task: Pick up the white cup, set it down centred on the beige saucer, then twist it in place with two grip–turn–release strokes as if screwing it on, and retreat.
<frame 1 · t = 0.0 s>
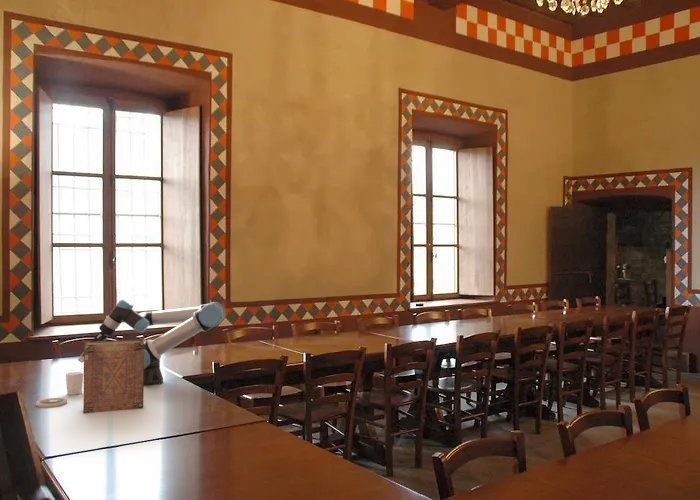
hand: (84, 359, 326), 15 cm above the table, tool tilted 35°, fingers open, 13 cm apart
white cup: (74, 393, 315), on the table
beige saucer: (51, 404, 293), on the table
book: (113, 408, 285), on the table
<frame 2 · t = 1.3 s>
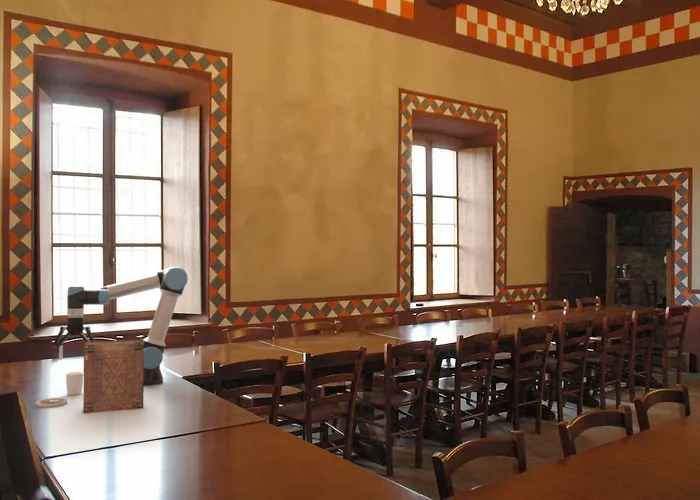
hand: (74, 359, 315), 17 cm above the table, tool pointing down, fingers open, 13 cm apart
nothing on the table moved.
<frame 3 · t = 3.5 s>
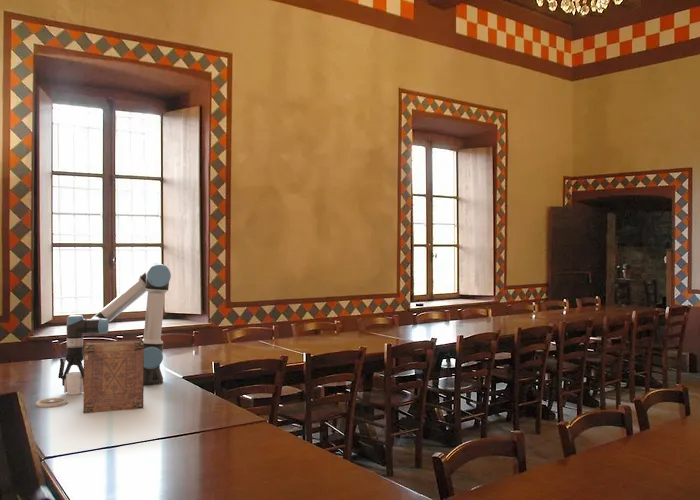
hand: (74, 392, 315), 1 cm above the table, tool pointing down, fingers closed on white cup, 8 cm apart
white cup: (74, 393, 315), on the table, touching gripper
everything else where it was.
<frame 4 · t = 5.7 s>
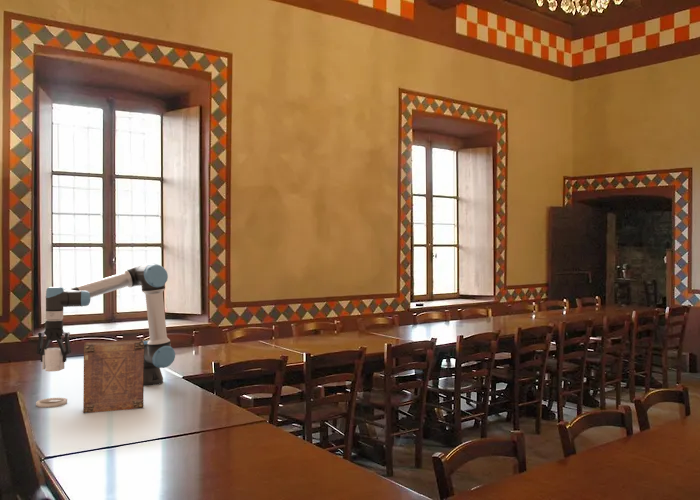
hand: (53, 368, 295), 16 cm above the table, tool pointing down, fingers closed on white cup, 7 cm apart
white cup: (53, 370, 295), point 15 cm above the table, touching gripper
everything else where it was.
when the fingers open (4 cm above the table, at t = 8.4 s): white cup drops 2 cm, resting on beige saucer.
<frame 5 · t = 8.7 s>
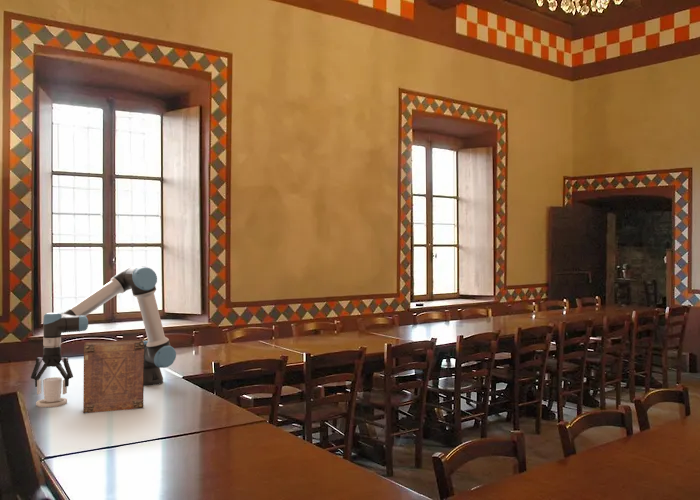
hand: (51, 393, 293), 5 cm above the table, tool pointing down, fingers open, 11 cm apart
white cup: (52, 400, 293), point 1 cm above the table, touching beige saucer
everything else where it was.
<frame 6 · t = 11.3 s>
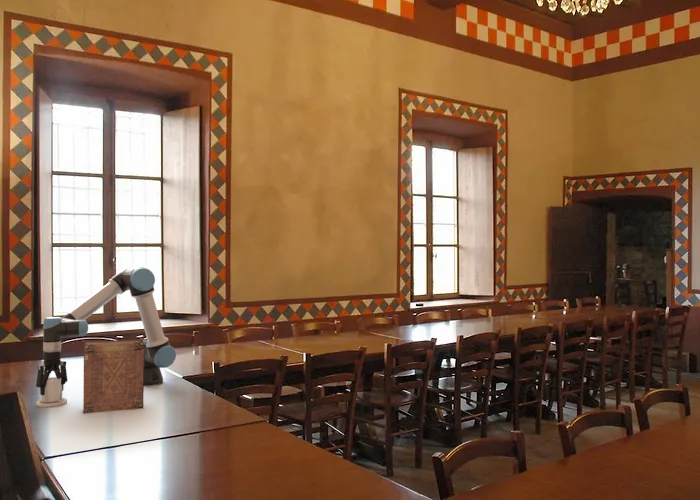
hand: (51, 399, 293), 2 cm above the table, tool pointing down, fingers closed on white cup, 7 cm apart
white cup: (51, 400, 293), point 1 cm above the table, touching gripper
everything else where it was.
when the fingers open (2 cm above the table, at t = 14.1 s): white cup stays where it is, resting on beige saucer.
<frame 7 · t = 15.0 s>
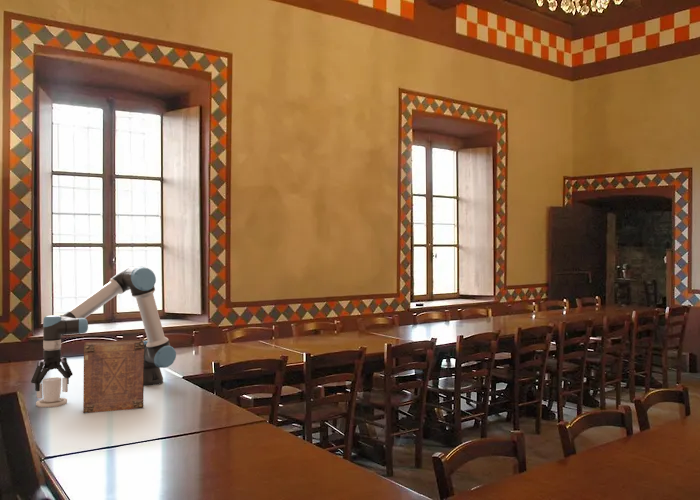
hand: (52, 394, 293), 4 cm above the table, tool pointing down, fingers open, 13 cm apart
white cup: (51, 401, 293), point 1 cm above the table, touching beige saucer
everything else where it was.
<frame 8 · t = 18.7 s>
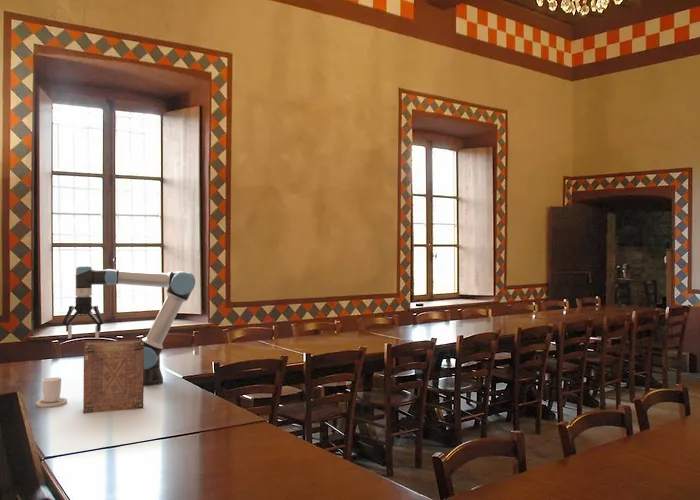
hand: (83, 338, 321), 27 cm above the table, tool pointing down, fingers open, 13 cm apart
nothing on the table moved.
at the end: white cup 0.1 cm from the beige saucer (horizontally); white cup tilted 0°; white cup point 1.4 cm above the table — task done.
